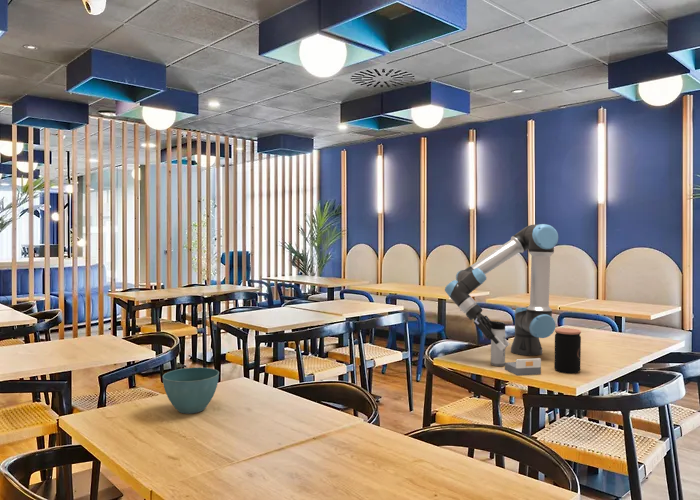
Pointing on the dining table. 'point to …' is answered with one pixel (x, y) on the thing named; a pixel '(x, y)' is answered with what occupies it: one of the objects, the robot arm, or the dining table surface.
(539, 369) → the display riser
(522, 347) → the robot arm
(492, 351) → the travel mug
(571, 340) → the coffee jar
